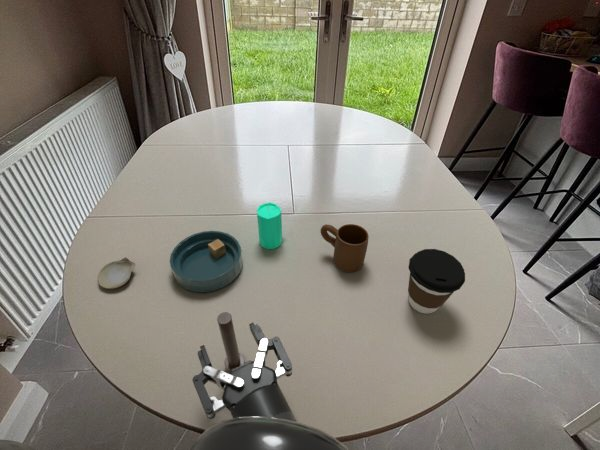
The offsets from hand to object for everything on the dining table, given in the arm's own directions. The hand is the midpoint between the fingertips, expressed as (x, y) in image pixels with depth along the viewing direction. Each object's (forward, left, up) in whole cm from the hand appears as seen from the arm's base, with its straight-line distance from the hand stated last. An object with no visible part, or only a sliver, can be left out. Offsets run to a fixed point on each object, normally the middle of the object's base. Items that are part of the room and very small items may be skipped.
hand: (227, 336), depth 56 cm
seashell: (-10, +35, -11) cm, 38 cm away
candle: (+25, +23, -11) cm, 36 cm away
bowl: (+8, +25, -10) cm, 29 cm away
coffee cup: (+40, -14, -11) cm, 44 cm away
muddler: (0, 0, -10) cm, 10 cm away
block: (+12, +28, -10) cm, 31 cm away
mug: (+35, +7, -11) cm, 37 cm away
